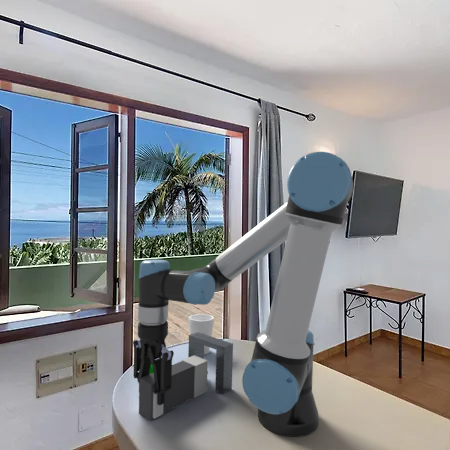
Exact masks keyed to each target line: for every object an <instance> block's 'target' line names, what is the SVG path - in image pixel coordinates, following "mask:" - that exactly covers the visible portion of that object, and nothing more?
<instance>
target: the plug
mask: <svg viewBox="0 0 450 450" xmlns="http://www.w3.org/2000/svg"><path fill="white" fill-rule="evenodd" d="M208 364H209V363H208V359H206V358H204V359H202V358H200V357H197V356H195V355H194V356H191V357H189V358H188V357H186V358H184V359H182V360H181V361H178V362H177V363H172V381H171V389H170V390H168V391H166V392H165V402H164V404H163V415H164V414H166V413H168V412H169V411H171V410H173V409H176V408H177V407H178V406H180V405H183V404H184V403H186V402H188V401H190V400H191V399H193V398H197V397H199V396H201V395H202V394H204V393H207V391H208V374H209V371H208ZM155 390H156V388H155V380H154V373H152V374H149V375H147V376H144V377H142V378H140V382H139V383H138V414H139V415H141V416H142V417H144V418H146V419H147V420H149V421H153V420H155V419H154V418H153V391H155Z"/></svg>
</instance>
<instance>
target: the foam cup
mask: <svg viewBox="0 0 450 450" xmlns="http://www.w3.org/2000/svg"><path fill="white" fill-rule="evenodd" d="M214 324H215V316H213V315H211V314H207V313H196V314H192V315H190V316H188V325H189V326H188V327H189V335H191V334H194V333H197V332H199V333H202V334H205V335H208V336H211V337H213V336H212V335H213V328H214ZM210 349H211V348H210V347H207V346H204V354H205V355H208V354H209V353H210ZM208 352H209V353H208ZM207 353H208V354H207Z"/></svg>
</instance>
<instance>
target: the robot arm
mask: <svg viewBox="0 0 450 450" xmlns="http://www.w3.org/2000/svg"><path fill="white" fill-rule="evenodd" d="M286 180H287V182H286V183H287V184H286V185H287V192H288V198H287V199H288V200H287V201H286V202H285V203H283V204H282V205H281V206H280V207H278V208H277V209H276V210H274V211H273V212H272V213H271V214H269V215H268V216H267V217H266V218H264V219H263V220H262V221H260V222H259V223H258V224H257V225H256V226H255V227H253V228H251V230H250V231H248V232H247V233H245V234H244V235H243V236H242V237H241V238H239V239H238V240H237V241H235V242H234V243H233V244H231V246H229V247H228V248H227V249H226V250H224V251H223V252H221V254H219V255H218V256H216V257H215V258H214V259H213V260H211V261H210V262H209V263H208V264H207V265H205V266H203V267H199V268H195V269H192V270H191V269H190V270H177V269H172V268H171V267H170V266H171V265H170V262H169V261H168V260H164V259H145V260H143V261H141V262H140V264H139V272H138V273H139V274H138V304H137V305H138V306H137V307H138V308H137V310H138V311H137V321H138V323H137V337H138V339H134V340H133V341H132V343H133V344H132V345H133V378H134V379H137V383H138V384H139V382H140V378H142V377H144V376H147V375H149V371H150V366H151V364H152V365H153V372H154V380H155V388H156V390H155V391H153V418H154V419H153V420H155V419H157V418H158V417H160V416H163V415H164V414H163V404H164V402H165V392H166V391H168V390H170V389H171V381H172V365H173V357H174V356H175V355H174V350H172V349H171V350H169V349H168V348H167V345H166V338H167V337H168V335H169V322H168V319H169V301H172V302H178V303H184V304H190V305H194V306H195V305H205V306H206V305H208V304H210V303H211V301H212V299H214V296H215V293H218V292H221V291H222V290H223V289H225V288H226V287H227V286H228V285H229V284H230V283H231V282H232V281H233V280H234V279H236V278H237V277H239V276H240V275H241V274H243V273H244V272H245V271H246V270H249V269H250V268H251V267H252V266H253V265H255V264H256V263H258V262H259V261H260V260H262V259H263V258H264V257H266V256H267V255H268V254H270V253H271V252H272V251H273V250H275V249H277V248H278V247H279V246H280V245H282V244H283V243H285V244H284V245H285V246H284V249H283V254H282V259H281V262H280V266H279V272H278V276H277V278H276V279H277V280H276V284H275V289H274V292H273V297H272V301H271V307H270V310H269V314H268V319H267V322H266V327H265V330H263V331H261V332H259V333H258V334H257V336H256V339H255V344H254V348H253V351H252V352H253V353H252V357H251V360H250V362H249V363H248V364H247V365H246V366H245V367H244V371H243V374H242V377H241V378H242V379H241V380H242V381H241V382H242V388H243V389H242V390H243V391H244V393H245V395H246V396H247V398H248V400H249V401H250V403H251V404H252V405H253V406H254V407H256V409H257V418H258V421H259V422H260V424H261V425H262V426H263V427H265V428H266V429H267V430H269V431H271V432H273V433H276V434H279V435H283V436H287V437H302V436H307V435H309V434H312V433H313V432H314V431H316V430H317V428H318V426H319V411H318V407H317V404H316V401H315V397H314V393H313V376H314V375H313V373H314V371H313V370H314V369H313V368H314V346H315V341H314V334H313V332H312V331H310V330H309V328H310V324H311V321H312V315H313V311H314V307H315V304H316V299H317V294H318V290H319V288H320V282H321V279H322V274H323V270H324V265H325V261H326V258H327V254H328V250H329V249H328V248H329V245H330V241H331V238H332V234H333V232H334V231H336V230H337V229H339V228H341V227H342V226H343V221H344V218H345V217H344V216H345V214H346V208H347V205H348V203H349V201H350V200H351V198H352V195H353V192H354V187H355V184H354V180H353V176H352V173H351V169H350V167H349V166H348V164H347V163H346V161H345V160H343V158H341V157H339V156H338V155H336V154H334V153H331V152H327V151H313V152H310V153H307V154H305V155H304V156H303V155H302V157H300V158H299V159H298V160H297V161H296V162H295V163H294V164H293V165H292V167H291V168H290V170H289V172H288V176H287V179H286Z"/></svg>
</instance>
